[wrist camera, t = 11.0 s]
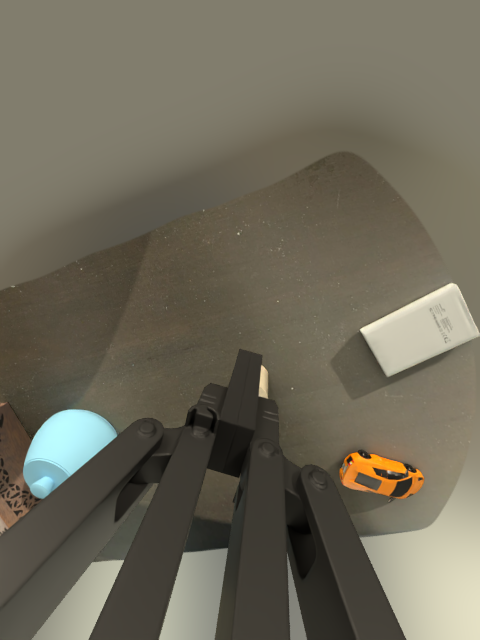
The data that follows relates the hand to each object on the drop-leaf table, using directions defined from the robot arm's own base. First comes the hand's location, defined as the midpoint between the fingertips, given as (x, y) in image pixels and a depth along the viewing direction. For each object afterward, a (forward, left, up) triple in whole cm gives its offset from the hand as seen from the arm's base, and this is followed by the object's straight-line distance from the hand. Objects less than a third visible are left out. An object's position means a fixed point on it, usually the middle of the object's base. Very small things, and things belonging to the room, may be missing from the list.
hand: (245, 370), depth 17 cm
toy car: (+16, +33, -22) cm, 43 cm away
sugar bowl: (+41, -14, -22) cm, 49 cm away
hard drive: (-6, +21, -22) cm, 31 cm away
